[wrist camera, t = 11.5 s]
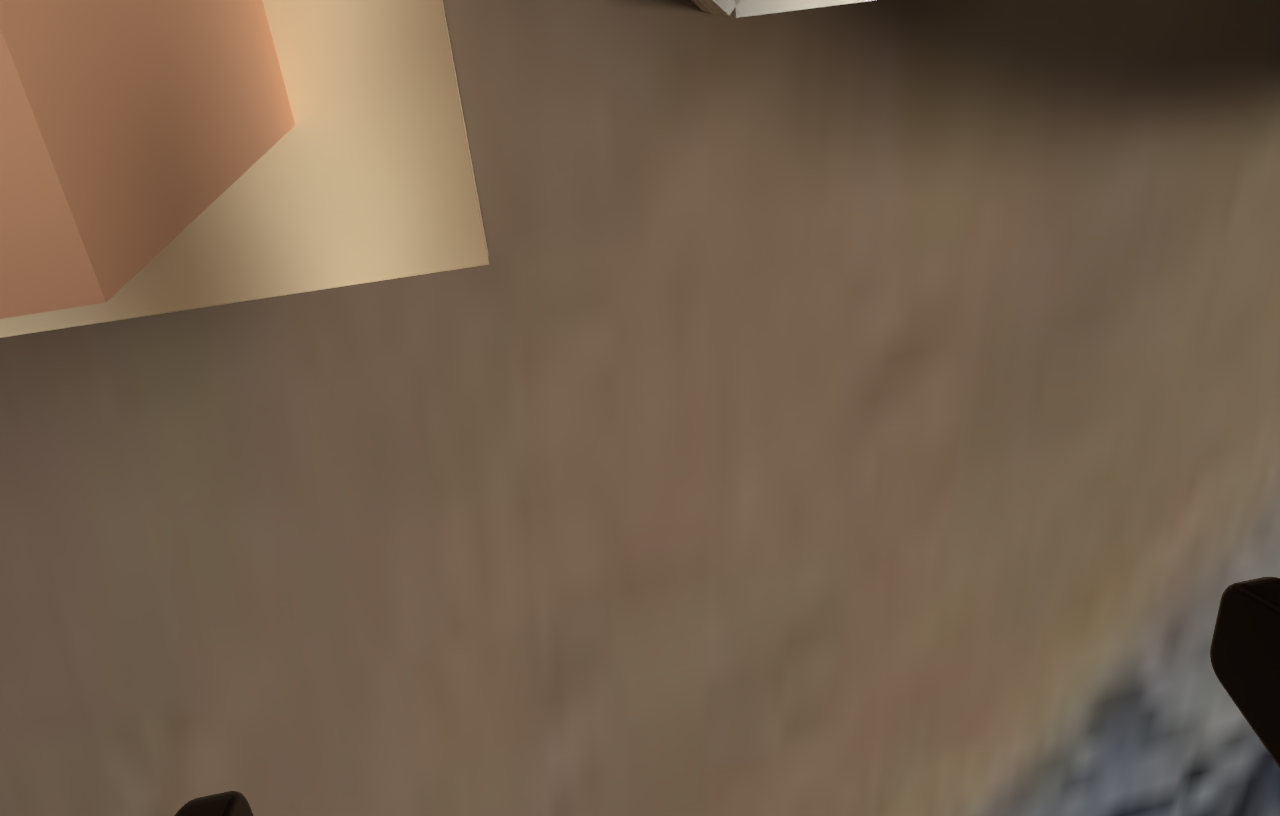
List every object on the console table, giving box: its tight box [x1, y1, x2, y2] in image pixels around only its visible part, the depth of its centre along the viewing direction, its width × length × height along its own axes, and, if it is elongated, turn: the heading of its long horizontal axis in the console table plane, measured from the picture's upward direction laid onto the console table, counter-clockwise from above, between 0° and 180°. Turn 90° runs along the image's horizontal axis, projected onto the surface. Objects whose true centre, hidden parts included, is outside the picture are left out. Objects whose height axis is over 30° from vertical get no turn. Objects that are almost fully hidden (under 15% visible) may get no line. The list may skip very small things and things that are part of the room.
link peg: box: [0, 0, 295, 319], centre depth 11 cm, size 4×4×10 cm
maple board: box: [0, 0, 489, 338], centre depth 16 cm, size 10×10×1 cm
